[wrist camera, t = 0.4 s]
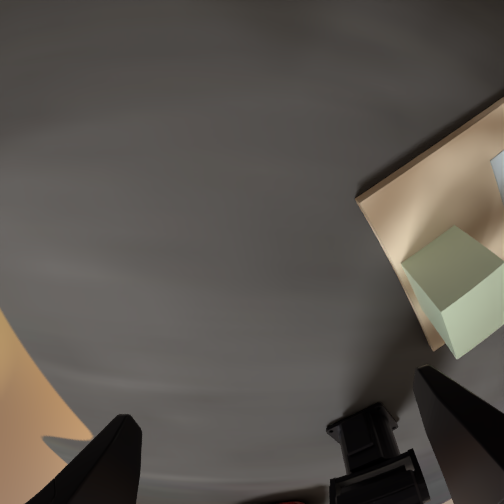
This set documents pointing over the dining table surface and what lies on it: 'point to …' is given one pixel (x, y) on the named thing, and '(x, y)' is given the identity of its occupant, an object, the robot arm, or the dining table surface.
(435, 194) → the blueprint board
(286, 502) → the dish
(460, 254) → the sage block
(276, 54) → the dining table surface
